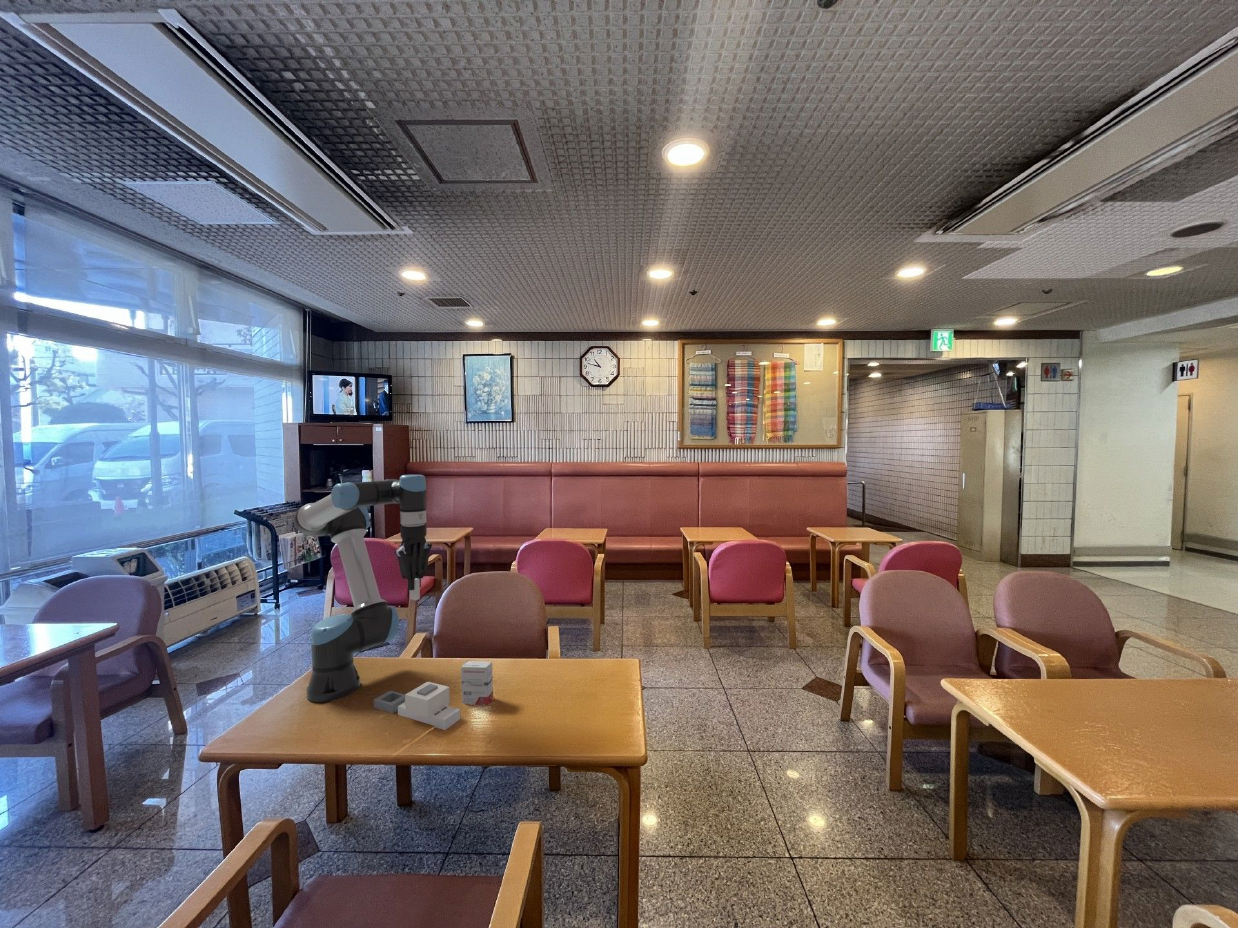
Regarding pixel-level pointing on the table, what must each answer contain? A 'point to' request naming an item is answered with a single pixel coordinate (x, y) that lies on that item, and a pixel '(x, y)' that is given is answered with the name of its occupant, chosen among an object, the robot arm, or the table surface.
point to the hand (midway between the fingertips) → (414, 599)
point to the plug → (427, 699)
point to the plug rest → (389, 701)
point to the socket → (435, 716)
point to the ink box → (477, 683)
